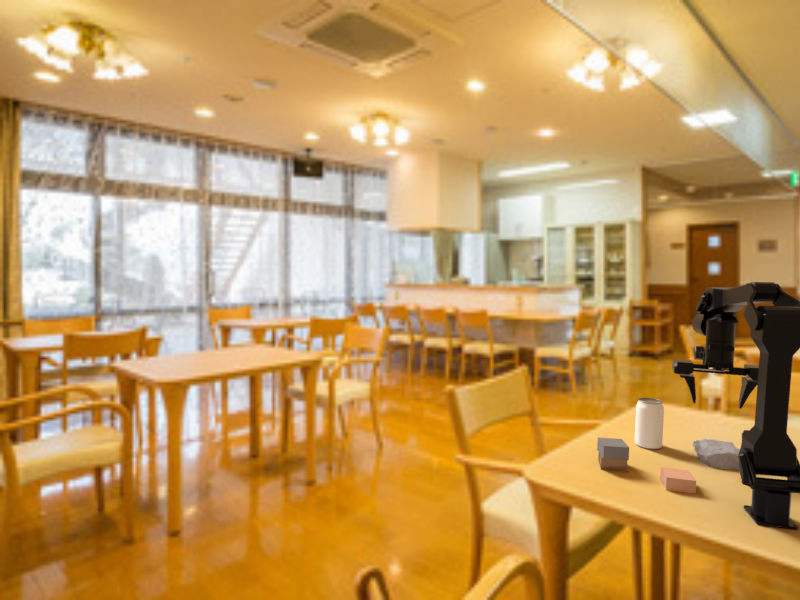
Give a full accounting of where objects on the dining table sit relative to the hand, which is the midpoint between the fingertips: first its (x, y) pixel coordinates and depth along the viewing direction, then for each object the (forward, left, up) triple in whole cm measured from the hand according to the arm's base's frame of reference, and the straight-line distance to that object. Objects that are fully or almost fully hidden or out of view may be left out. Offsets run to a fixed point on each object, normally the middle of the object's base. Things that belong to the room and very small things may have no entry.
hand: (716, 405), depth 114 cm
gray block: (-9, +24, -11) cm, 28 cm away
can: (+8, +13, -14) cm, 21 cm away
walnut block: (-9, +24, -14) cm, 29 cm away
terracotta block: (-16, +12, -14) cm, 25 cm away
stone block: (+3, -2, -15) cm, 15 cm away
